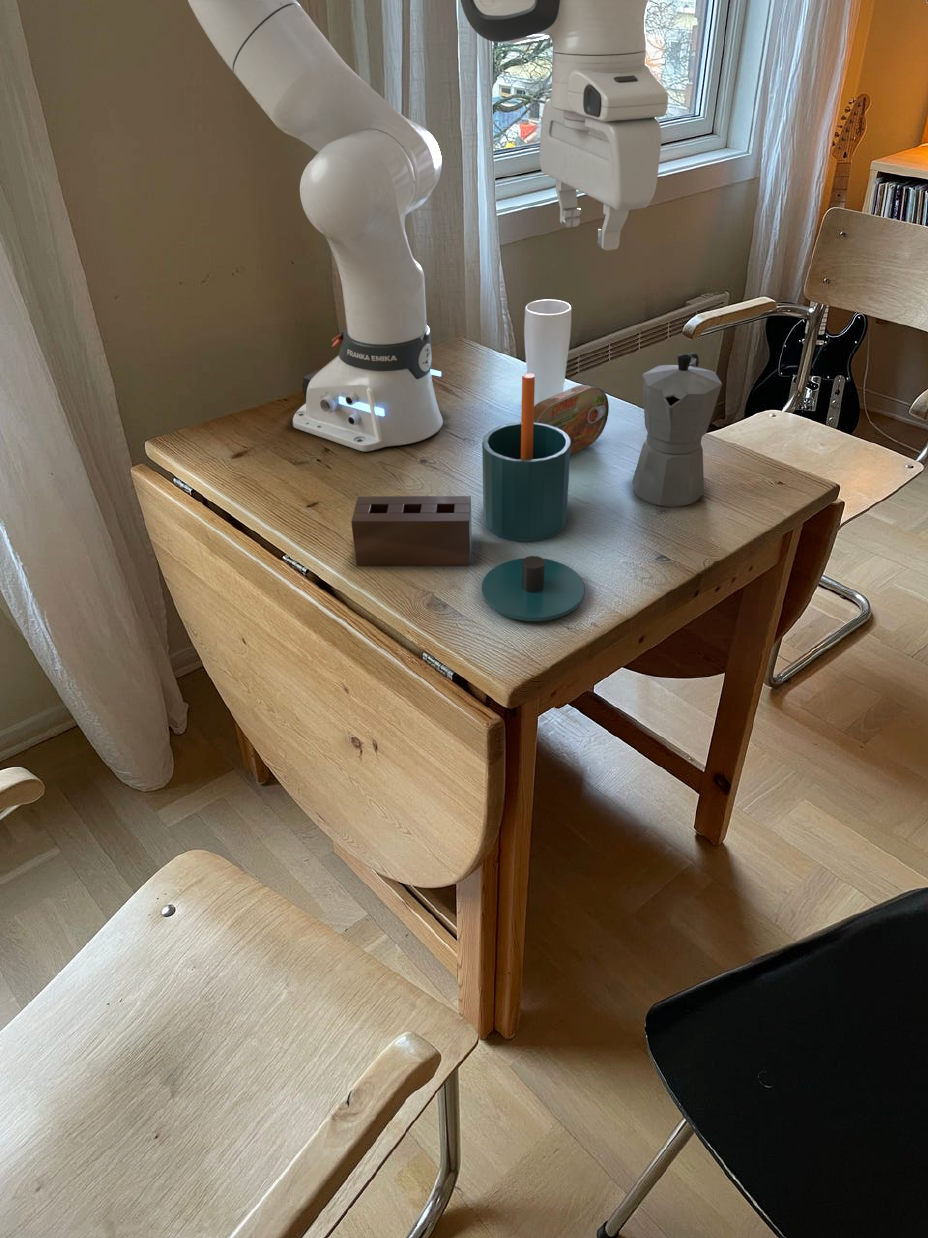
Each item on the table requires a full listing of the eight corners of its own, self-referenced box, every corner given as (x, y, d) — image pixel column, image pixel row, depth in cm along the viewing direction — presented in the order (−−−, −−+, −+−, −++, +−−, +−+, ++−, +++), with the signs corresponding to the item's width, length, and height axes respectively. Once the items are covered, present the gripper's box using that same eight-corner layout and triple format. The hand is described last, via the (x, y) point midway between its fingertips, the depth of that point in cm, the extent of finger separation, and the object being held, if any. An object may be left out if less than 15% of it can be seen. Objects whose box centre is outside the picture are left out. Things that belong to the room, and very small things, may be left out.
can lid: (522, 639, 91) (523, 605, 89) (462, 587, 99) (460, 555, 96) (605, 601, 96) (608, 568, 94) (541, 554, 104) (542, 523, 101)
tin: (533, 472, 119) (535, 414, 114) (517, 464, 121) (518, 406, 116) (608, 437, 127) (613, 381, 122) (592, 430, 129) (595, 374, 124)
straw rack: (362, 539, 107) (357, 496, 104) (471, 539, 107) (470, 495, 103) (356, 565, 103) (351, 521, 99) (470, 565, 102) (469, 521, 99)
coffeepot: (695, 521, 109) (717, 380, 98) (619, 508, 111) (632, 370, 100) (715, 464, 120) (736, 332, 109) (645, 454, 123) (660, 324, 112)
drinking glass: (564, 415, 133) (569, 315, 124) (519, 413, 134) (521, 313, 125) (569, 397, 138) (574, 299, 129) (526, 394, 139) (528, 298, 130)
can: (470, 530, 108) (468, 451, 102) (503, 492, 115) (504, 416, 109) (548, 549, 105) (551, 468, 98) (578, 508, 112) (582, 430, 105)
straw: (518, 517, 109) (520, 376, 98) (522, 511, 110) (524, 372, 99) (528, 519, 109) (532, 378, 98) (533, 513, 110) (536, 374, 99)
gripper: (526, 75, 93) (523, 216, 101) (614, 102, 78) (602, 266, 86) (581, 71, 94) (574, 210, 103) (678, 97, 79) (661, 258, 88)
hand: (588, 236), depth 94 cm, fingers open, 8 cm apart
